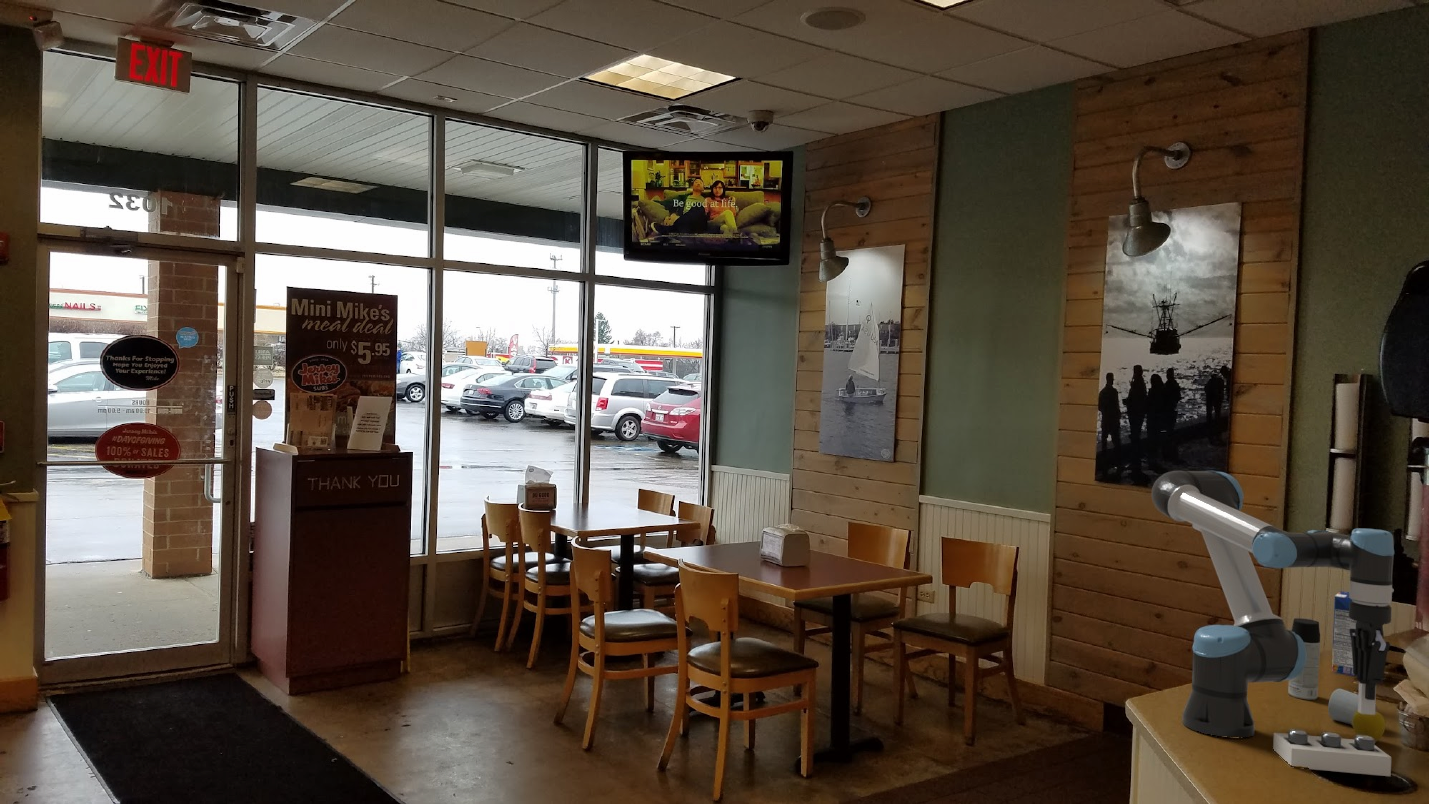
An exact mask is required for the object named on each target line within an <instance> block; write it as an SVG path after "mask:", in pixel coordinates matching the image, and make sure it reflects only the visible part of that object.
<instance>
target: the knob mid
mask: <svg viewBox="0 0 1429 804" xmlns="http://www.w3.org/2000/svg"><path fill="white" fill-rule="evenodd" d="M1320 737H1321V745H1322V746H1323V747H1328V748H1340V749H1341V738H1342V736H1341V735H1340V734H1338V733H1335V732H1332V731H1323V732H1321V736H1320Z"/></svg>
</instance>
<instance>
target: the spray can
mask: <svg viewBox="0 0 1429 804" xmlns="http://www.w3.org/2000/svg"><path fill="white" fill-rule="evenodd" d="M1290 631H1293V632H1295V634H1297V635H1299V636H1300V638H1301V639H1302V640H1303V642H1304V645H1305V648H1306V653H1307V659H1306V664H1305V665H1304V669H1303V671H1302V672H1301V674H1300V675H1299V676H1297V677H1296V678H1294V679H1291V680H1288V689H1287V690H1288V691H1287V692H1288V695H1289V696H1290V697H1293V698H1295V699H1301V700H1306V701H1307V700H1308V701H1313V700H1317V698H1318V697H1319V696H1318V694H1319V693H1318V691H1319V675H1320V674H1319V673H1320V671H1319V670H1320V669H1319V668H1320V654H1321V653H1320V652H1321V651H1320V650H1321V633H1320V632H1321V631H1320V623H1319V621H1318V620H1314V619H1311V618H1298V617H1296V618H1294V619H1293V622H1292V628H1291V630H1290Z"/></svg>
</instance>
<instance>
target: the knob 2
mask: <svg viewBox="0 0 1429 804" xmlns="http://www.w3.org/2000/svg"><path fill="white" fill-rule="evenodd" d="M1353 739H1354V748H1356V749H1357V750H1362V751H1373V752H1374V746H1376V745H1375V743H1376V742H1375V739H1373V738H1372V737H1369V736H1366V735H1354V738H1353Z"/></svg>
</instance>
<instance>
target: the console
mask: <svg viewBox="0 0 1429 804" xmlns="http://www.w3.org/2000/svg"><path fill="white" fill-rule="evenodd" d="M1272 747H1273V748H1272V750H1273V749H1274V751H1276V752H1277V753H1278V754H1279V755H1280V756H1281V757H1282V758H1283V759H1284V760H1285V761H1287V762H1288V764H1290V765H1292V766H1302V767H1308V768H1309V769H1308V770H1315V771H1330V772H1339V773H1348V774H1349V773H1350V774H1359V775H1360V774H1361V775H1370V776H1382V777H1383V776H1385V777H1392V776H1391V775H1392V773H1391V772H1392V756H1390V755H1389V754H1388V753H1386V752H1385V751H1384V750H1382V749H1381V748H1379V747H1378V746H1377V745H1375V746H1374V752H1373V751H1362V750H1357V749H1356V748H1354V738H1353V739H1352V738H1342V737H1341V749H1340V748H1328V747H1323V746H1322V745H1321V736H1317V735H1308V743H1307V746H1306V745H1294V744H1290V743H1289V742H1288V733H1283V732H1273V745H1272ZM1274 751H1273V752H1274ZM1280 756H1279V757H1280ZM1281 757H1280V758H1281ZM1282 758H1281V759H1282ZM1283 759H1282V760H1283ZM1284 760H1283V761H1284ZM1285 761H1284V762H1285ZM1288 764H1287V765H1288Z"/></svg>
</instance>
